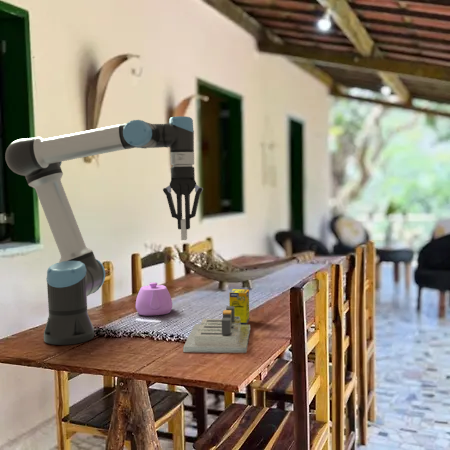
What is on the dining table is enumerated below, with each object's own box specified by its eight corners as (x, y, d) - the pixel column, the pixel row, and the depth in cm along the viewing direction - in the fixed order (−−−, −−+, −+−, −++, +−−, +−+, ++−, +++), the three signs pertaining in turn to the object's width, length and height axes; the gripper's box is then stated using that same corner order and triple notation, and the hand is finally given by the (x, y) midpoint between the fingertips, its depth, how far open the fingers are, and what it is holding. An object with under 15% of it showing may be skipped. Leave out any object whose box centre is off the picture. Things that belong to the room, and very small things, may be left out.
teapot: (136, 321, 198) (135, 289, 197) (134, 307, 217) (133, 278, 216) (175, 318, 200) (174, 287, 199) (170, 305, 220) (169, 277, 219)
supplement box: (247, 325, 190) (246, 292, 189) (229, 324, 192) (228, 292, 190) (249, 320, 196) (249, 289, 195) (232, 319, 197) (232, 288, 196)
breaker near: (221, 333, 165) (221, 320, 165) (222, 330, 168) (222, 317, 168) (230, 334, 165) (229, 320, 165) (231, 331, 168) (230, 317, 168)
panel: (183, 352, 163) (183, 338, 163) (195, 328, 187) (195, 316, 187) (246, 353, 162) (246, 338, 161) (250, 329, 186) (250, 316, 185)
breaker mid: (222, 327, 172) (222, 312, 172) (223, 324, 175) (223, 310, 175) (230, 327, 172) (230, 312, 172) (231, 324, 175) (231, 310, 175)
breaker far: (226, 321, 179) (226, 308, 179) (227, 318, 182) (226, 306, 182) (233, 321, 179) (233, 308, 179) (234, 318, 182) (234, 306, 182)
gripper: (159, 166, 179) (162, 241, 181) (201, 165, 178) (202, 240, 180) (164, 166, 187) (166, 238, 189) (204, 165, 185) (205, 238, 188)
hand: (184, 239), depth 185 cm, fingers closed
